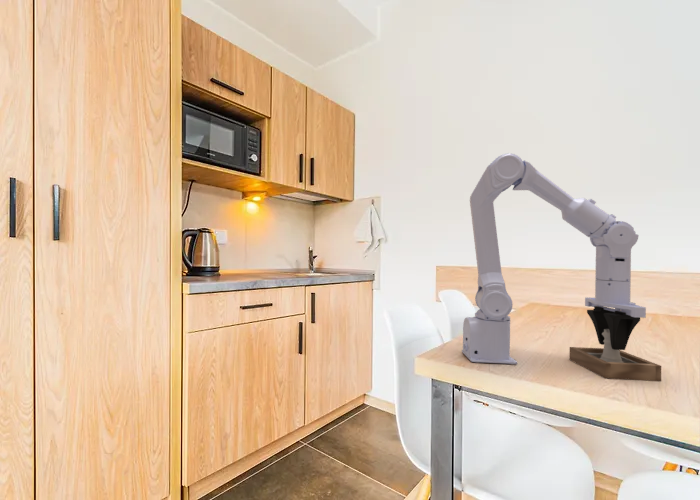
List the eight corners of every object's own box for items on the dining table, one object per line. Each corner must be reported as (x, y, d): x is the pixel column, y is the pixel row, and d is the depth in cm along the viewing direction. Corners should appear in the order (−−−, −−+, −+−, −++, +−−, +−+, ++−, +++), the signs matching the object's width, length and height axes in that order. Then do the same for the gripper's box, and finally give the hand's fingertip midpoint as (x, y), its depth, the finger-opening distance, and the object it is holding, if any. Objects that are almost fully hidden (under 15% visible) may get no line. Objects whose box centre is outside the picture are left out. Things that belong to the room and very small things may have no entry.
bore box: (604, 378, 64) (605, 363, 64) (569, 359, 75) (569, 346, 75) (661, 380, 63) (661, 365, 63) (616, 361, 74) (616, 348, 74)
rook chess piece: (630, 374, 66) (630, 333, 66) (603, 371, 67) (604, 331, 68) (618, 367, 71) (618, 328, 71) (593, 365, 72) (594, 327, 72)
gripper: (663, 283, 62) (663, 358, 62) (608, 278, 76) (607, 338, 76) (623, 282, 62) (622, 356, 62) (575, 277, 77) (575, 337, 76)
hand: (611, 346), depth 69 cm, fingers closed on rook chess piece, 3 cm apart
